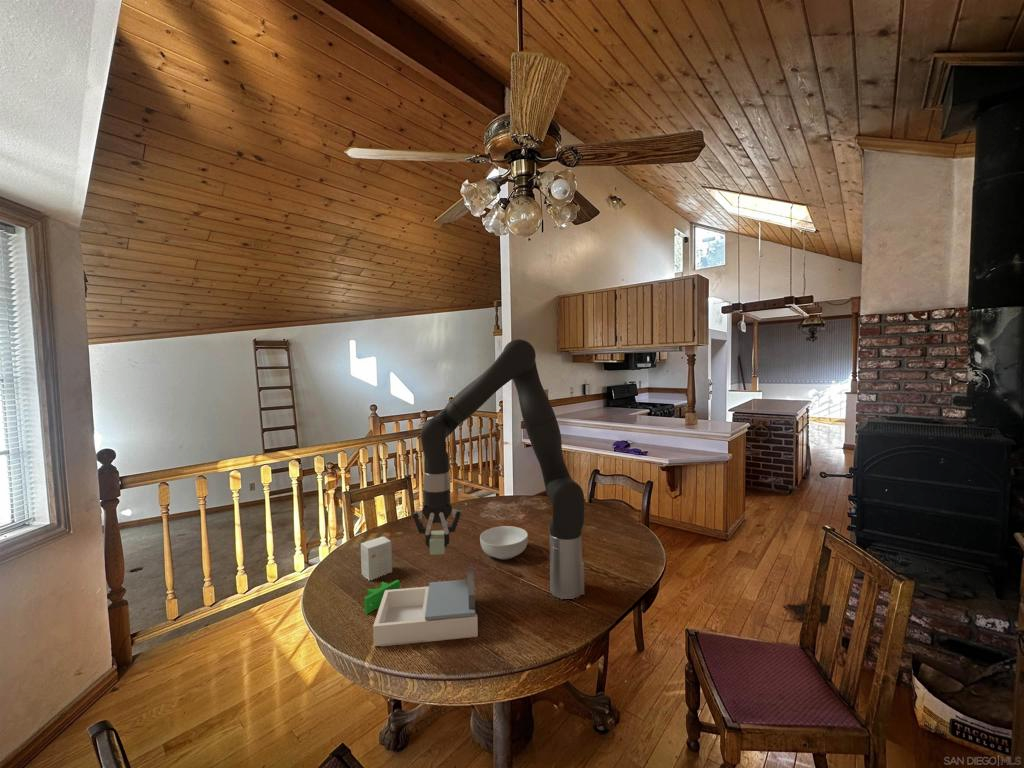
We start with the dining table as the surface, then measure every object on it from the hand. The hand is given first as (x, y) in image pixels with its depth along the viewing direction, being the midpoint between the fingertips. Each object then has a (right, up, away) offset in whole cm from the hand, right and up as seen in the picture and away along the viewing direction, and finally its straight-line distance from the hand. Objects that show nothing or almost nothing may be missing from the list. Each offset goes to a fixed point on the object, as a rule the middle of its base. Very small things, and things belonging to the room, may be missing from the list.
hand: (437, 545), depth 117 cm
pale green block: (0, -1, 0) cm, 1 cm away
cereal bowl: (+19, -14, +27) cm, 35 cm away
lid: (+5, -10, -11) cm, 16 cm away
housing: (0, -15, -11) cm, 19 cm away
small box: (-22, -15, +14) cm, 30 cm away
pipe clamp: (-16, -15, -2) cm, 22 cm away
